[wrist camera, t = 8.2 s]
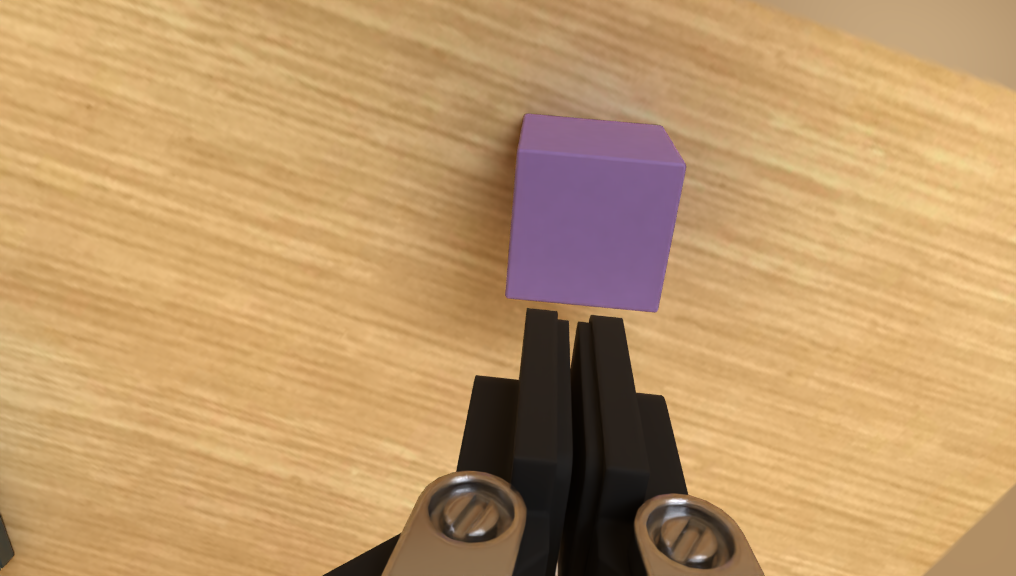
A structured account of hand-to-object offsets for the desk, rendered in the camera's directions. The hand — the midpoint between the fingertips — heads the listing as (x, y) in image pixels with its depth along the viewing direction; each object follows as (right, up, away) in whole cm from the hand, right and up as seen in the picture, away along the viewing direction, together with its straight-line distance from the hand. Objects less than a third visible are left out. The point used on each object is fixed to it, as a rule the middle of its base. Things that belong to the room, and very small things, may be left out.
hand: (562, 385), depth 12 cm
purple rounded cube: (+2, +5, +10) cm, 12 cm away
